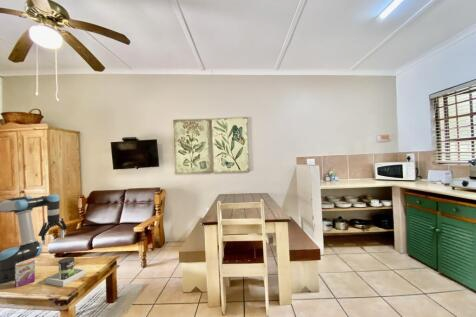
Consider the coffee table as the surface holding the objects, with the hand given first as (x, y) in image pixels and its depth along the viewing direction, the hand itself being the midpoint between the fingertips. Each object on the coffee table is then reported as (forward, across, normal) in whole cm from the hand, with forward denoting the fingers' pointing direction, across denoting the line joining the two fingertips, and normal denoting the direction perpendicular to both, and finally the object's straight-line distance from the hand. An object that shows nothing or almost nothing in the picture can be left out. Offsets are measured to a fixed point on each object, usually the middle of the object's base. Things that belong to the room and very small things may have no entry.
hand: (53, 240), depth 179 cm
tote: (+30, +3, -10) cm, 32 cm away
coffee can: (+30, +3, -10) cm, 31 cm away
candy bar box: (+31, -10, +16) cm, 36 cm away
